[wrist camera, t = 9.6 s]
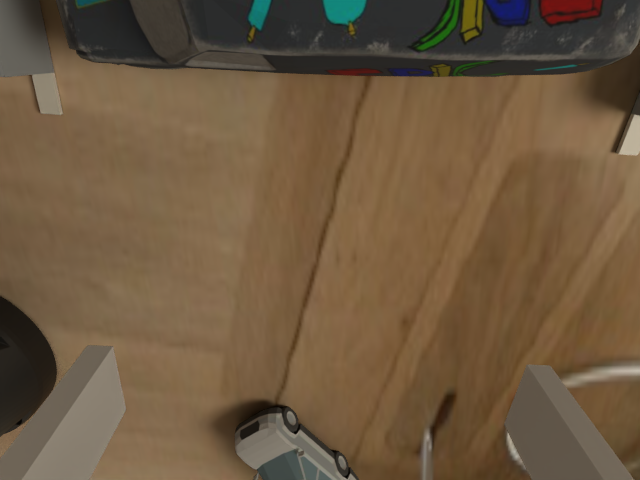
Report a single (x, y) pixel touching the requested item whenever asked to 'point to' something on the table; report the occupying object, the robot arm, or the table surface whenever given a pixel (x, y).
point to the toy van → (356, 35)
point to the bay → (35, 59)
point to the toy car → (287, 449)
